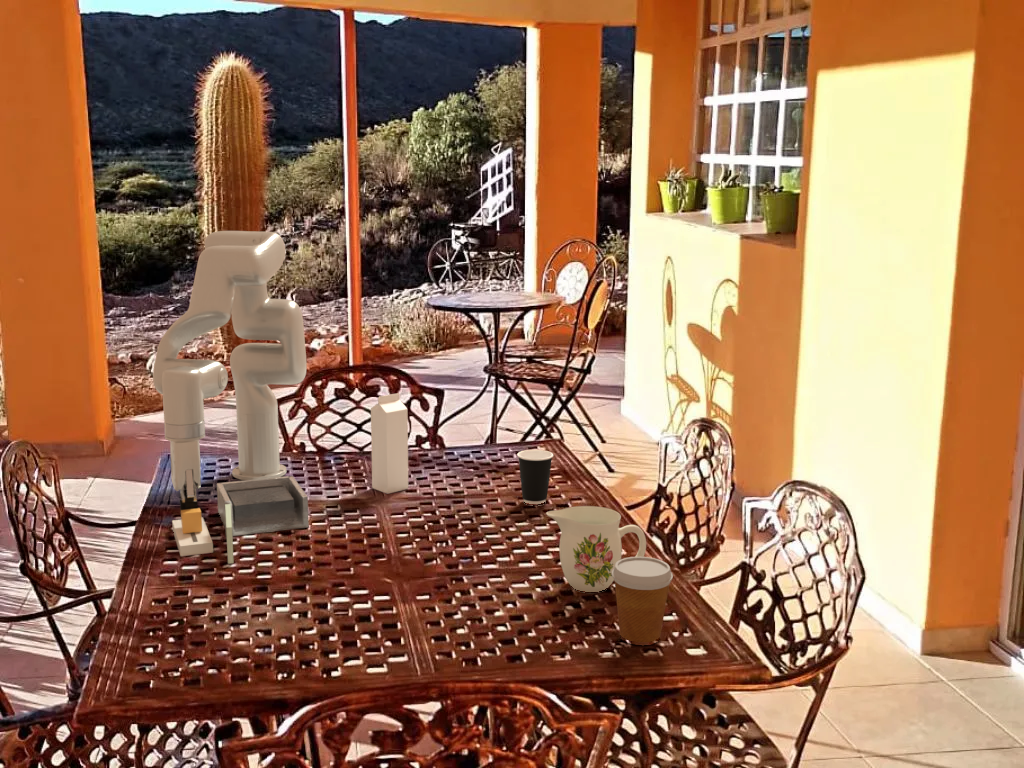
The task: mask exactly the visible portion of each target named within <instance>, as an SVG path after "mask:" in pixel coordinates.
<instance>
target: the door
mask: <svg viewBox="0 0 1024 768" xmlns="http://www.w3.org/2000/svg"><path fill="white" fill-rule="evenodd" d="M224 511H225V527H224V529H225V530H224V531H225V538H226V547H227V552H226V553H227V564H235V563H234V562H235V560H234V546H233V545H234V544H233V543H234V541H233V537H234V536H233V526H232V504H231V501H225V502H224Z"/></svg>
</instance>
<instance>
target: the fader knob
mask: <svg viewBox="0 0 1024 768" xmlns="http://www.w3.org/2000/svg"><path fill="white" fill-rule="evenodd" d="M180 520H181V523H182V532H183V533H192V532H201V531H202V510H201V508H200V507H198V508H197V509H187V510H181V512H180Z"/></svg>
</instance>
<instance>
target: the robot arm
mask: <svg viewBox="0 0 1024 768" xmlns="http://www.w3.org/2000/svg"><path fill="white" fill-rule="evenodd" d="M285 257H286V245H285V242H284V240H283V238H282V237H281V236H280V235H279V233H277V232H273V231H254V230H253V231H249V230H248V231H247V230H220V231H214V232H211V233H209V234H207V236H206V237H205V239H204V249H203V250H202V251H201V253H200V254H199V256H198V261H197V265H196V269H195V275H194V281H193V285H192V290H191V295H190V300H189V305H188V308H187V310H186V311H185V313H183V314H182V315H181V316H180V317H179V318H177V319H176V320H175V321H174V322H173V323H172V324H171V326H170V327H168V329H167V330H166V331H165V332H164V334H163V336H162V337H161V338H160V341H159V343H158V345H157V346H158V347H157V350H156V355H155V360H154V363H153V364H154V365H153V371H152V380H153V386H154V388H155V390H156V391H157V392H158V394H161V395H162V405H163V421H164V423H163V424H164V439H165V440H166V441H168V442H169V443H170V448H169V449H170V472H171V473H170V474H171V476H170V477H171V484H172V487H173V489H174V491H176V492H179V491H180V494H179V496H180V500H179V509H180V510H179V511H180V513H181V510H187V509H197V508H199V507H198V506H199V505H198V498H197V490H199V489H200V488H201V485H202V484H201V483H202V482H201V479H202V476H201V452H200V449H201V448H200V447H201V446H200V440H202V439H204V438H205V437H206V427H205V409H204V408H205V407H204V405H205V404H204V400H205V399H209V398H215V397H217V396H219V395H220V394H222V393H223V391H224V390H225V389H226V387H227V384H228V381H229V380H228V379H229V374H228V370H227V368H226V367H225V365H224V364H222V363H221V362H220V361H218V360H213V359H196V358H194V359H193V358H192V359H191V358H178V355H179V353H180V352H181V350H182V349H183V347H184V346H185V345H187V344H188V343H189V342H191V341H192V340H193V339H195V338H198V337H200V336H202V335H204V334H207V333H209V332H211V331H214V330H217V329H219V328H221V327H223V326H225V325H227V324H228V322H229V321H230V319H231V321H232V326H233V327H232V328H233V331H234V334H235V335H236V336H237V337H238V338H240V339H243V340H250V341H251V340H253V341H277V342H280V343H271V342H269V343H268V342H246V343H243V344H242V343H241V344H239V345H237V346H236V347H234V348H233V350H232V351H231V353H230V356H229V366H230V371H231V375H232V381H233V387H234V393H235V406H236V407H235V408H236V410H235V412H236V426H237V427H236V429H237V430H236V432H237V433H236V434H237V435H236V436H237V453H238V465H237V466H236V467H234V468H233V469H232V471H231V473H232V477H233V478H235V479H237V480H239V481H245V480H255V479H265V478H275V477H284V476H285V475H286V474H287V467H286V465H284V464H282V463H280V441H279V440H280V439H279V438H280V437H279V436H280V435H279V409H278V408H279V407H278V400H277V398H276V395H275V393H274V392H273V391H272V389H271V388H270V387H269V385H283V386H284V385H287V386H288V385H289V386H290V385H298V384H300V383H303V381H304V379H305V377H306V375H307V365H308V364H307V363H308V362H307V353H306V352H307V351H306V339H305V338H306V337H305V326H304V319H303V318H304V317H303V313H302V310H301V307H300V306H299V304H298V303H297V302H296V301H294V300H291V299H287V298H271V297H269V294H268V286H267V283H268V282H269V281H270V280H271V279H272V277H274V275H275V274H276V273H277V272H278V271H279V270H280V269H281V267H282V266H283V264H284V261H285Z"/></svg>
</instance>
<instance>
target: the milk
mask: <svg viewBox="0 0 1024 768" xmlns="http://www.w3.org/2000/svg"><path fill="white" fill-rule="evenodd" d="M400 395H401V394H400V393H398V392H397V393H391V394H386V395H380V396H378V398H377V403H376V404H375V405H373V406H372V407H370V428H371V429H370V431H371V434H370V435H371V436H370V437H371V438H370V439H371V485H372V486H371V488H372V489H373V490H377V491H378V492H382V493H384V494H393V493H396V492H401V491H404V490H409V439H408V438H409V437H408V436H409V435H408V434H409V431H408V429H409V427H408V426H409V424H408V420H409V418H408V416H409V415H408V408H407V406H406V405H405V404H404V403H403V401H401V399H400V398H401V397H400Z"/></svg>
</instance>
